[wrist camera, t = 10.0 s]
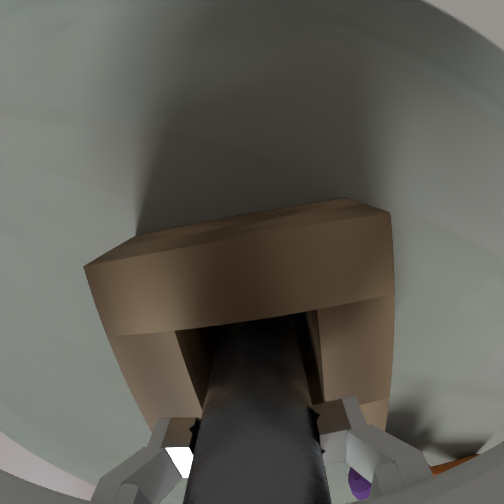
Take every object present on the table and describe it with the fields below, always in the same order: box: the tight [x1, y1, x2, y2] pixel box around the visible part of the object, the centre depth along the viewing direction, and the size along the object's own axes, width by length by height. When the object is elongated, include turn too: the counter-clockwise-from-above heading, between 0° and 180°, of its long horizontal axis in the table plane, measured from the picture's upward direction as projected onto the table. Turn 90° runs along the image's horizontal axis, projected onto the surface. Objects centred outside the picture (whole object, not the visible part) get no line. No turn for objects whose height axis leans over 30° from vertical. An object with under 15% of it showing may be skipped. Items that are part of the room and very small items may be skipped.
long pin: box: [183, 314, 332, 504], centre depth 10 cm, size 4×4×14 cm
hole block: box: [83, 198, 394, 432], centre depth 15 cm, size 12×12×6 cm
